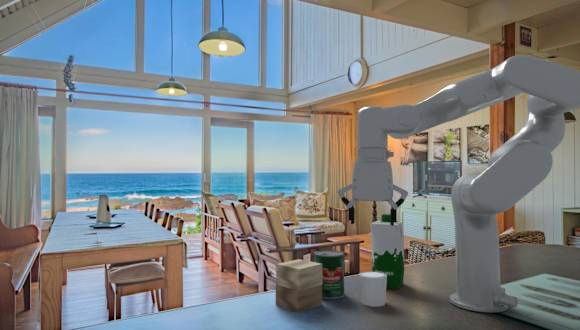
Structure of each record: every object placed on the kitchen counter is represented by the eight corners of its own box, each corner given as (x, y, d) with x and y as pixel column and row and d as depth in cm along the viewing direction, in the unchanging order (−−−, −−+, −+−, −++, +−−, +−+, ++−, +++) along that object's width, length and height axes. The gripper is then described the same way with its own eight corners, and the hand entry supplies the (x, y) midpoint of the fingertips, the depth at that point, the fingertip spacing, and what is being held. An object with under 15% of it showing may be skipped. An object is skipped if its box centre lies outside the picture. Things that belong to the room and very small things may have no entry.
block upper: (322, 284, 91) (322, 263, 91) (299, 291, 85) (299, 269, 86) (299, 278, 97) (299, 259, 97) (276, 284, 91) (276, 264, 91)
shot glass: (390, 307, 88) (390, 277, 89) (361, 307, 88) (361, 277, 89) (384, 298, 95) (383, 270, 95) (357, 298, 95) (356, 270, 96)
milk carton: (406, 283, 109) (405, 214, 110) (400, 291, 101) (399, 217, 102) (377, 279, 113) (375, 213, 114) (368, 287, 105) (367, 216, 106)
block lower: (322, 305, 90) (321, 284, 91) (298, 313, 85) (298, 291, 85) (299, 298, 96) (299, 278, 97) (275, 305, 91) (275, 284, 91)
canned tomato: (332, 288, 104) (332, 249, 105) (350, 296, 97) (350, 253, 98) (308, 293, 100) (308, 251, 101) (325, 301, 93) (325, 256, 94)
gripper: (407, 157, 96) (407, 224, 95) (339, 157, 100) (339, 221, 99) (409, 155, 89) (409, 227, 88) (336, 155, 93) (335, 224, 92)
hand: (372, 224), depth 94 cm, fingers open, 9 cm apart
